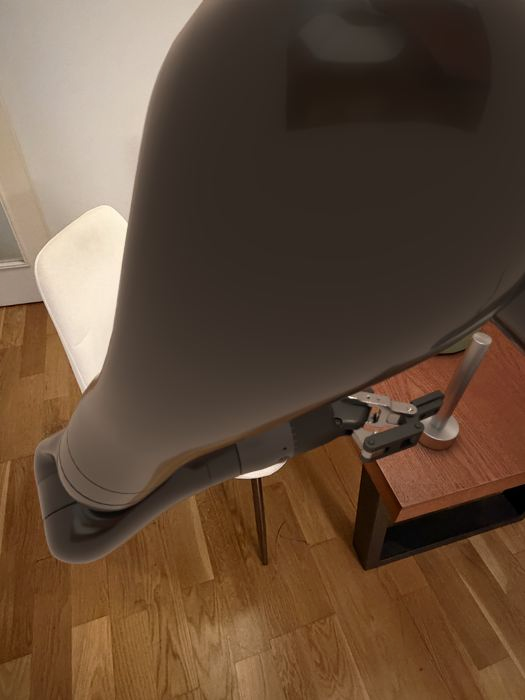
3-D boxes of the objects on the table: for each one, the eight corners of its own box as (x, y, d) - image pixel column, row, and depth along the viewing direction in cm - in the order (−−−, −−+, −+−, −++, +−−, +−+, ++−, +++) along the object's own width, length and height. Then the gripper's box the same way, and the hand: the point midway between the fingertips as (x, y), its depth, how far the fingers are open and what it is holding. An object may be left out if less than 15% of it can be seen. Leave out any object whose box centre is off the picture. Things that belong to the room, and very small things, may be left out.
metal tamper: (461, 435, 57) (519, 340, 44) (438, 457, 54) (493, 363, 41) (427, 410, 60) (472, 315, 47) (404, 430, 57) (445, 335, 45)
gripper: (314, 462, 30) (477, 394, 35) (242, 343, 39) (378, 302, 44) (305, 506, 35) (448, 442, 40) (244, 392, 45) (366, 350, 49)
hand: (411, 368), depth 42 cm, fingers open, 8 cm apart
